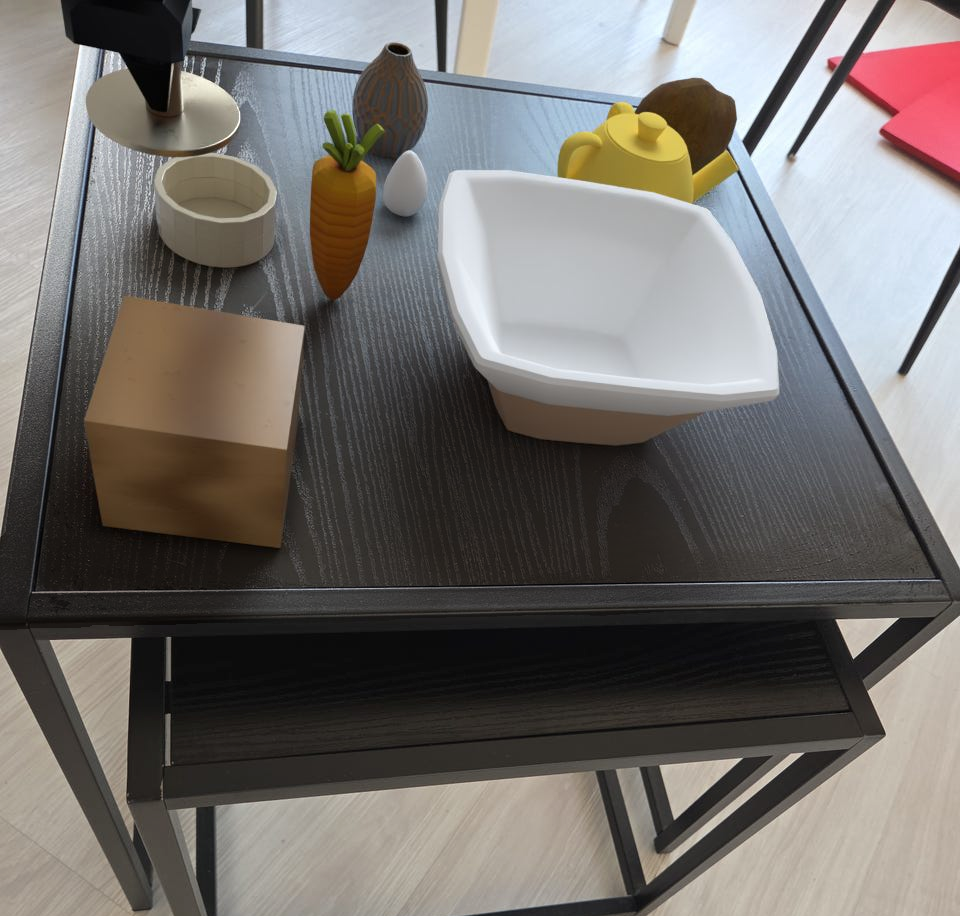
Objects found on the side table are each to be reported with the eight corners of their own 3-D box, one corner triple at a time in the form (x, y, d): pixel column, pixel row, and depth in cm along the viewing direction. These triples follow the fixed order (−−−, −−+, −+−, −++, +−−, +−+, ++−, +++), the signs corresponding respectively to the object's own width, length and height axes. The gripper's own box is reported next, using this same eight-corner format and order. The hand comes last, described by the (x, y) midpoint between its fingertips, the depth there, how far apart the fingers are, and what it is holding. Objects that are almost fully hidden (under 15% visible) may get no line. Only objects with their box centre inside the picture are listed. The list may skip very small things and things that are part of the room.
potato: (735, 197, 98) (774, 113, 91) (632, 187, 95) (664, 100, 88) (709, 151, 103) (744, 67, 95) (609, 140, 99) (638, 53, 92)
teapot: (645, 306, 84) (696, 190, 75) (519, 233, 86) (552, 112, 77) (706, 242, 92) (758, 130, 83) (589, 177, 94) (627, 61, 85)
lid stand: (102, 526, 59) (83, 420, 51) (136, 404, 65) (123, 294, 58) (280, 548, 61) (287, 450, 53) (297, 428, 67) (304, 325, 60)
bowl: (741, 510, 72) (809, 407, 63) (425, 487, 66) (453, 371, 58) (676, 309, 85) (725, 201, 76) (406, 276, 79) (426, 154, 71)
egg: (408, 229, 83) (418, 169, 78) (373, 209, 83) (381, 149, 79) (430, 212, 85) (441, 153, 81) (396, 193, 85) (405, 133, 81)
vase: (435, 153, 91) (452, 58, 83) (389, 175, 87) (402, 77, 80) (381, 118, 92) (394, 21, 85) (333, 138, 88) (342, 39, 81)
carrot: (372, 295, 77) (398, 111, 65) (348, 328, 74) (371, 143, 62) (316, 272, 77) (332, 84, 65) (290, 304, 74) (301, 114, 62)
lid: (71, 139, 59) (60, 69, 56) (103, 61, 65) (95, -7, 61) (229, 169, 61) (228, 103, 58) (249, 91, 66) (249, 26, 63)
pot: (148, 255, 74) (144, 208, 70) (168, 189, 79) (166, 142, 75) (267, 276, 75) (269, 232, 72) (280, 210, 80) (282, 165, 77)
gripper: (278, -88, 46) (271, 205, 58) (312, -220, 56) (300, 54, 69) (35, -146, 44) (82, 170, 57) (116, -272, 54) (141, 20, 67)
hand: (163, 99), depth 62 cm, fingers closed on lid, 2 cm apart
